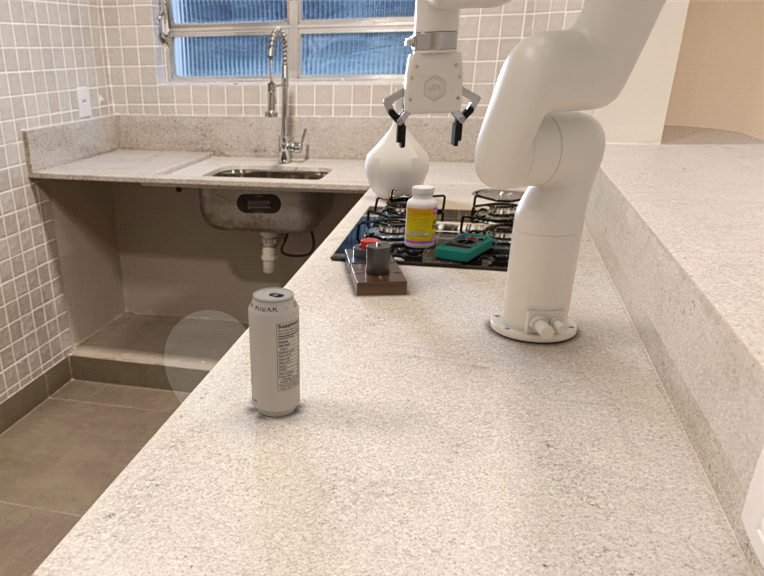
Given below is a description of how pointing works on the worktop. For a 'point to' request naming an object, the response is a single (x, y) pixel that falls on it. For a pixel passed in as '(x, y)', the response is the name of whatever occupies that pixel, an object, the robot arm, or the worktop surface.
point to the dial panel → (378, 281)
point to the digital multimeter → (464, 247)
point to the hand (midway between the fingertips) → (428, 146)
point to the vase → (396, 163)
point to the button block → (358, 256)
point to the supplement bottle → (421, 217)
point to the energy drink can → (274, 351)
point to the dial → (378, 258)
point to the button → (367, 242)
